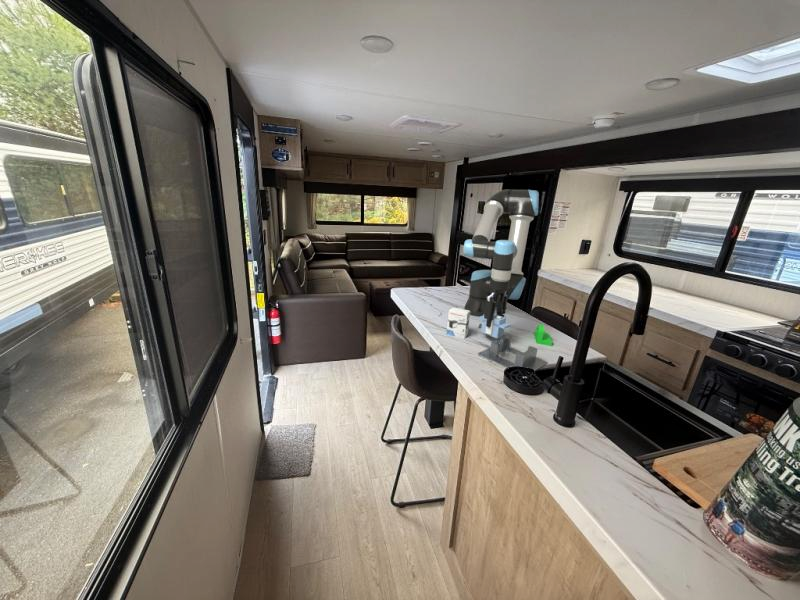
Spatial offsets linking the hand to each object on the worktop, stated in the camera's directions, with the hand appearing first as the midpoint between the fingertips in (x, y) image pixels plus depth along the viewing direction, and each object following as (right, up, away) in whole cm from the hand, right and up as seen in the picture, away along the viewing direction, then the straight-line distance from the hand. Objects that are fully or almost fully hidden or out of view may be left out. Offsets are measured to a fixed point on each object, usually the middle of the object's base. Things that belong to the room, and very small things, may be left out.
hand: (492, 331), depth 131 cm
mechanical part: (+24, -4, +6) cm, 25 cm away
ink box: (-14, -2, +6) cm, 15 cm away
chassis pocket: (+3, -9, -14) cm, 17 cm away
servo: (0, -1, 0) cm, 1 cm away
